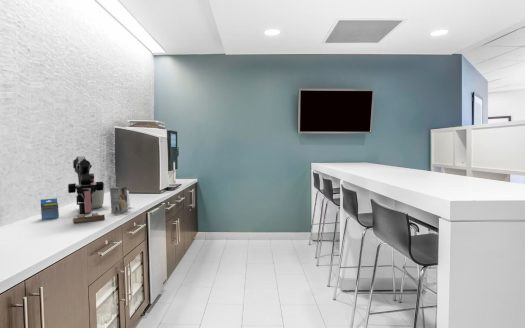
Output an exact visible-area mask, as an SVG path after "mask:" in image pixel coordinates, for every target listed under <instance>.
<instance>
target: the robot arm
mask: <svg viewBox="0 0 525 328" xmlns="http://www.w3.org/2000/svg"><path fill="white" fill-rule="evenodd" d="M92 166H93V165H92V164H91V162H90V161H89V160H87V159H86V157H85V156H83V155H82V156H81V155H80V156H76V157H75V159H74V160H73V161H72V167H73V169H74V172H75V173H76V174H77V177H78V178H77V179H78V184H77V183H76V182H75V183H68V184H67V191H68V194H74V193H76V194H77V195H76V197H75V199H76V201H75V202H76V205H77V206H78V207H79V208H78V209H79V212H78V215H81V214H84V215H86V214H87V215H88V214H91V212H89V213H85V204H84V199H85V195H84V191H89V189H91V190H90V194H91V203H92V195H93V193H94V192H96V190H97V191H100V190H103V186H104V184H105V183H104V182H103V181H95V182H96V184H95V185H93V184H91V183H92V182H91V179H94V180H95V174H94V172H93V173H90V171H91V168H92ZM81 202H83V203H81Z"/></svg>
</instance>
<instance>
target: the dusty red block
mask: <svg viewBox="0 0 525 328" xmlns="http://www.w3.org/2000/svg"><path fill="white" fill-rule="evenodd" d="M84 195H85V199H84V204H85V213H87V214H90V213H93V211H92V210H93V209H91V194H90V191H84ZM89 212H90V213H89Z"/></svg>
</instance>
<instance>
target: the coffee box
mask: <svg viewBox="0 0 525 328" xmlns="http://www.w3.org/2000/svg"><path fill="white" fill-rule="evenodd" d="M127 191H128V190H127V187H126V186H118V187H117V186H116V187H113V188H110V189H109V193H110V209H111V211H110V213H112V214H121V213H124V212H128V211H129V208H128V205H127Z"/></svg>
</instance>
